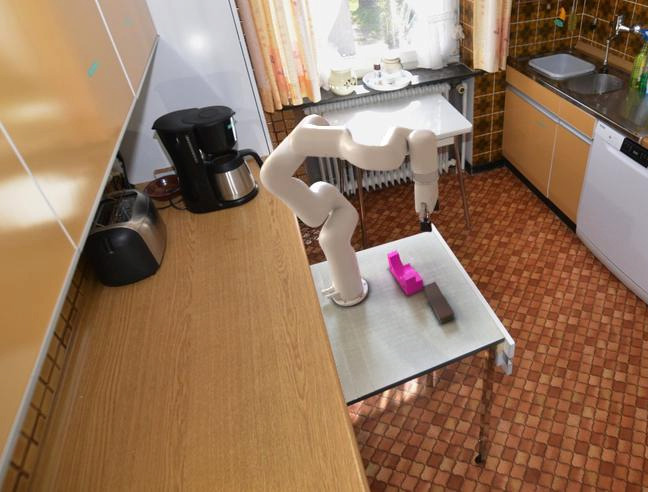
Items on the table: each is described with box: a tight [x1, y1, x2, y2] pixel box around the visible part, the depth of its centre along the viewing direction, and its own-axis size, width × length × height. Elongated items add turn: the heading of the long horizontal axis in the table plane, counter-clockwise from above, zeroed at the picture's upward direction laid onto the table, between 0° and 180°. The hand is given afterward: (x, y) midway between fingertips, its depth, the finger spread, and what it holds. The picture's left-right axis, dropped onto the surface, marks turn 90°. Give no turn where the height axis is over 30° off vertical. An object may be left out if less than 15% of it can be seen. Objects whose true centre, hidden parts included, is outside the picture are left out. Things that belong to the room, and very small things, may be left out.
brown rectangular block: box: [421, 281, 455, 324], centre depth 147 cm, size 15×5×3 cm, turn 23°
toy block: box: [386, 249, 424, 296], centre depth 156 cm, size 15×6×8 cm, turn 29°
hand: (430, 220), depth 131 cm, fingers open, 9 cm apart
